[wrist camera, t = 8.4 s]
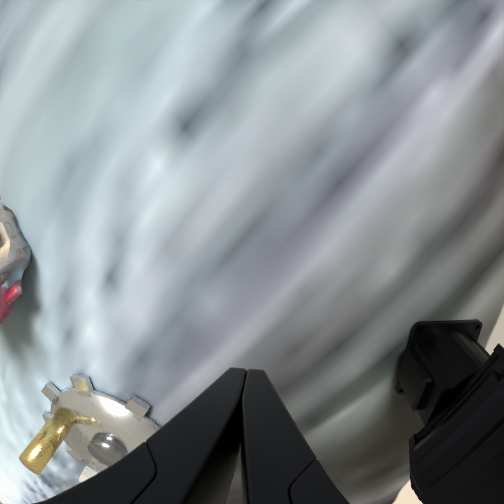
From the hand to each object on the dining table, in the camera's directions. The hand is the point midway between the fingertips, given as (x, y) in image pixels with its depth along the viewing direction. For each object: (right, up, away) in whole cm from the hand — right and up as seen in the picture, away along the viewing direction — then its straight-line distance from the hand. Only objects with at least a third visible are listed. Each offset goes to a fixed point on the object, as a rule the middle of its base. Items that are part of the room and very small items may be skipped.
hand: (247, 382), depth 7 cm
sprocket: (-14, -16, +19) cm, 29 cm away
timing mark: (-21, -26, +22) cm, 40 cm away
